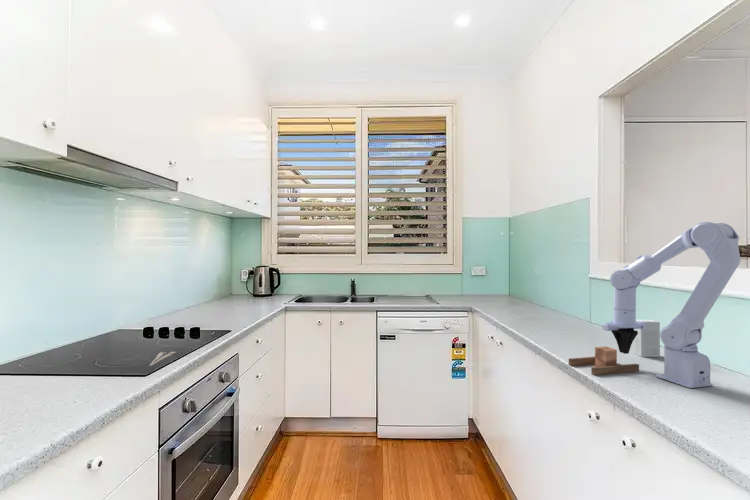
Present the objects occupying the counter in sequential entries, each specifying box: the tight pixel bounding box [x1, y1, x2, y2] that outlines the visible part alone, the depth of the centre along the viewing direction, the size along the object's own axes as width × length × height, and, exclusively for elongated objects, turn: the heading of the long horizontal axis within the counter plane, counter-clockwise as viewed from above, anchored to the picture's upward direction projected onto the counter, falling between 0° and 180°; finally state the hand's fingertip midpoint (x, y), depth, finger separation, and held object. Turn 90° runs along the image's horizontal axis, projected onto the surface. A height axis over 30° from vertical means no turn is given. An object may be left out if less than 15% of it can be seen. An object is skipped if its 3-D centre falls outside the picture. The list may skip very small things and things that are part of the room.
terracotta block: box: [594, 346, 618, 367], centre depth 116 cm, size 4×4×6 cm
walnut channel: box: [568, 356, 640, 376], centre depth 115 cm, size 10×16×2 cm, turn 104°
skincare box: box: [634, 319, 661, 358], centre depth 129 cm, size 6×4×12 cm
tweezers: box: [149, 351, 176, 366], centre depth 122 cm, size 18×5×2 cm, turn 7°
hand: (624, 352), depth 117 cm, fingers closed
